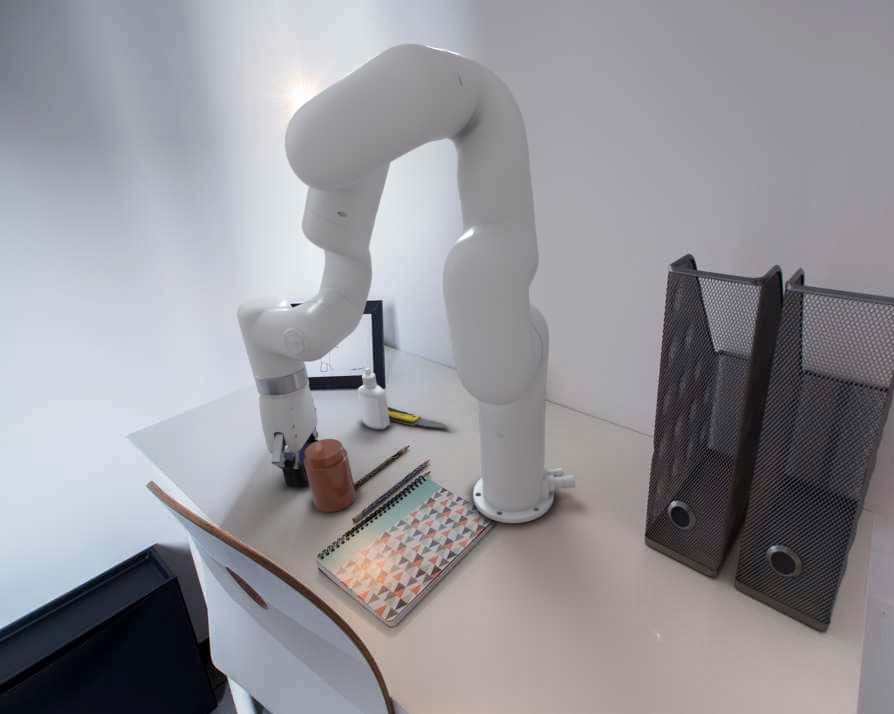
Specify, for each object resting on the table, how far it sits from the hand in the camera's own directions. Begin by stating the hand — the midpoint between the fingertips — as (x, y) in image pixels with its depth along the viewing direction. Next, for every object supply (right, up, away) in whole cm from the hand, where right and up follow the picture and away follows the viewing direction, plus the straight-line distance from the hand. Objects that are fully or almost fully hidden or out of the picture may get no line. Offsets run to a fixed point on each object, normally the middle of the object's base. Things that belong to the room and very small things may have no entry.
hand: (305, 471), depth 90 cm
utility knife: (+17, +8, +14) cm, 23 cm away
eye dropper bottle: (+9, +7, +13) cm, 18 cm away
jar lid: (0, +3, -2) cm, 3 cm away
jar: (+7, -4, -6) cm, 10 cm away
